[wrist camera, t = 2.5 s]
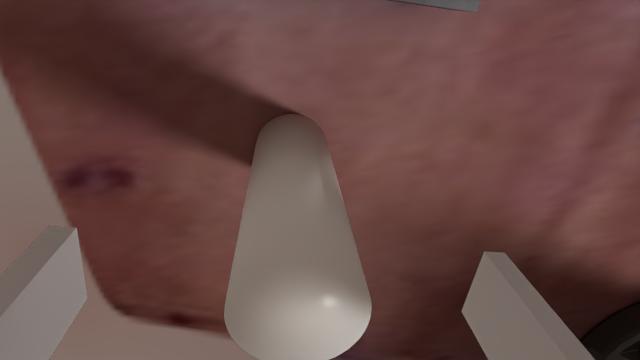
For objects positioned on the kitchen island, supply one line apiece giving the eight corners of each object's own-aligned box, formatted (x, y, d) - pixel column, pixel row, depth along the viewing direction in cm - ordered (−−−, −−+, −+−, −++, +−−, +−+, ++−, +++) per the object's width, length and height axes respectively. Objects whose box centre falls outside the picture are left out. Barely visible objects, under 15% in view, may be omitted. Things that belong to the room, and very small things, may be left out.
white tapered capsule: (321, 182, 25) (358, 367, 13) (253, 177, 25) (221, 364, 12) (331, 118, 24) (384, 259, 11) (258, 110, 23) (226, 249, 10)
